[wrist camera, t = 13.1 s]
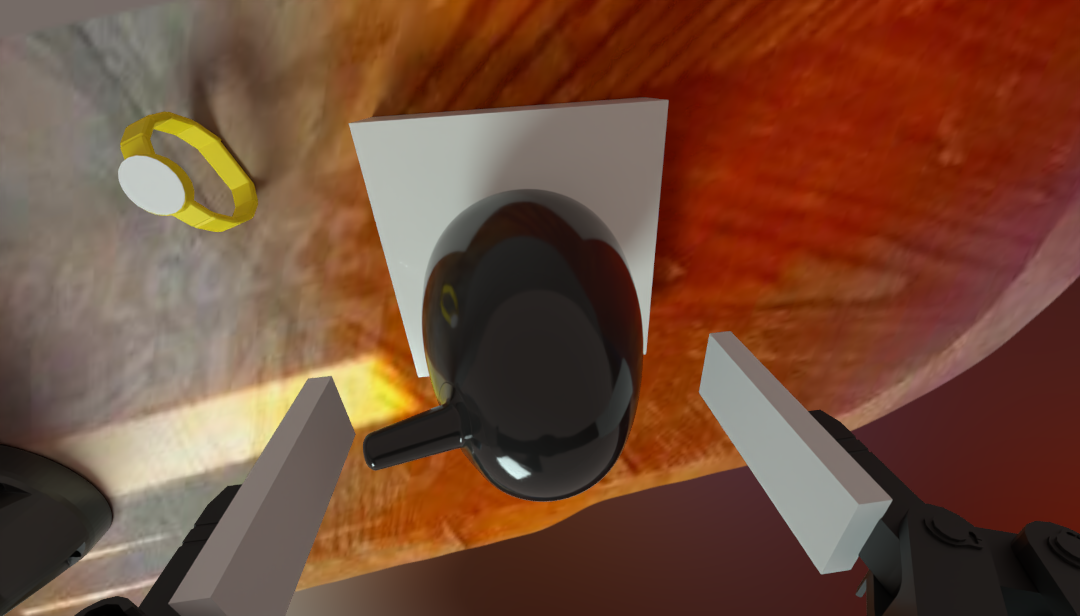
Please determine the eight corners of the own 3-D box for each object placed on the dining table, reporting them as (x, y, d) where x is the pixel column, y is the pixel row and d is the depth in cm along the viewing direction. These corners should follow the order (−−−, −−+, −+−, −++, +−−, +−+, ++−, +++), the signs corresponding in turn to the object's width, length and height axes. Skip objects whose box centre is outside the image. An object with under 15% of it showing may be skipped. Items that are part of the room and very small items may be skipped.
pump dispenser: (424, 170, 21) (294, 322, 8) (618, 174, 22) (797, 316, 9) (441, 333, 26) (379, 594, 13) (598, 331, 27) (691, 571, 14)
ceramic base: (427, 344, 31) (418, 377, 27) (371, 116, 23) (348, 123, 19) (630, 324, 32) (646, 354, 28) (644, 97, 24) (668, 99, 20)
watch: (172, 126, 23) (67, 130, 17) (213, 105, 22) (118, 102, 17) (246, 222, 25) (173, 251, 20) (283, 205, 25) (219, 230, 20)
